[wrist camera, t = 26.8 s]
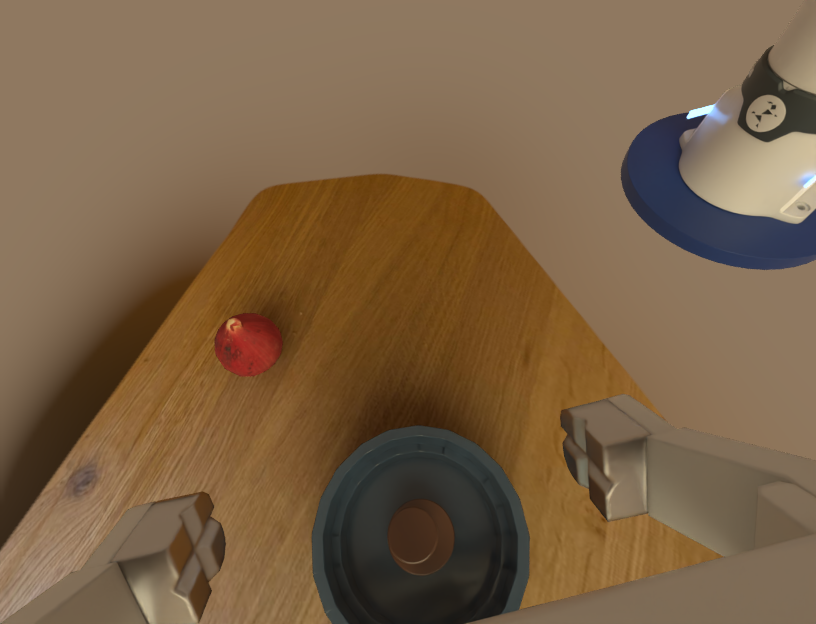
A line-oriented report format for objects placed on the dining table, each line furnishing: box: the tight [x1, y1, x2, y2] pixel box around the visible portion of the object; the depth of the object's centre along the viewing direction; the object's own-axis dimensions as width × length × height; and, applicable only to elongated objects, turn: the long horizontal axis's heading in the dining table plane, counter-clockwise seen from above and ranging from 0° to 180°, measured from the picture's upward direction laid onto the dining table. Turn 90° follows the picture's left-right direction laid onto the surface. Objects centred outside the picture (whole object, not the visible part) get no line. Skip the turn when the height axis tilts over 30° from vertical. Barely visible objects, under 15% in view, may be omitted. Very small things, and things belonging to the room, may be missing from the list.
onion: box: [215, 313, 283, 376], centre depth 37 cm, size 6×6×8 cm
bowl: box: [312, 425, 530, 624], centre depth 29 cm, size 15×15×6 cm
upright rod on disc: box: [387, 499, 455, 576], centre depth 24 cm, size 5×5×18 cm
